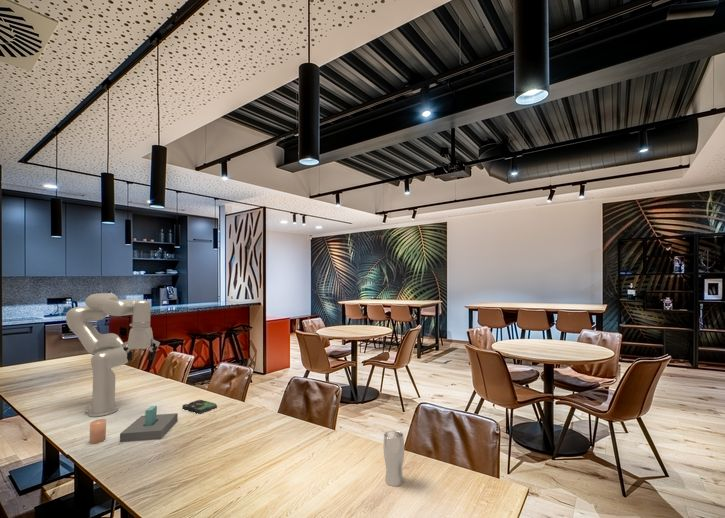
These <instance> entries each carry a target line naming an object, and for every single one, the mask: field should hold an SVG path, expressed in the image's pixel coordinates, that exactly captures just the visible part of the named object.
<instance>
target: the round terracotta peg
mask: <svg viewBox="0 0 725 518" xmlns="http://www.w3.org/2000/svg"><path fill="white" fill-rule="evenodd" d="M106 433H107V419H104V418H102V419H96V420H93V421H91V422H90V423H89V445H96V444H101V443H103V442H105V441H106V440H105V439H106V438H107V436H106V435H107V434H106ZM104 440H105V441H104ZM100 442H101V443H100Z"/></svg>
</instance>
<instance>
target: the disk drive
mask: <svg viewBox="0 0 725 518" xmlns="http://www.w3.org/2000/svg"><path fill="white" fill-rule="evenodd" d="M181 408H182V410H183V409H184V410H183V411H186V410H188V411H187V412H190V411H191V412H190V413H194V412H195V413H194V414H197V413H198V414H197V415H201V414H205V413H208V412H210V411H212V409H213V410H215V408H216V409H217V408H218V405H217V403H215V402H211V401H208V400H207V401H206V400H203V399H197V400H193V401H191V402H189V403H185V404H182V407H181ZM204 412H205V413H204Z"/></svg>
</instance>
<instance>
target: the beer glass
mask: <svg viewBox="0 0 725 518" xmlns="http://www.w3.org/2000/svg"><path fill="white" fill-rule="evenodd" d="M382 446H383V457H384V462H385V469H386V471H385V478H384V479H385V484H387V485H389V486H391V487H399V486H401V485H403V484H404V475H403V465H404V457H405V440H404V434H403V432H401V431H398V430H388V431H386V432H384V434H383V445H382Z"/></svg>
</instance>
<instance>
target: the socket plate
mask: <svg viewBox="0 0 725 518" xmlns="http://www.w3.org/2000/svg"><path fill="white" fill-rule="evenodd" d="M178 415H179V414H178V412H175V413H159V414H157V416H156V422H155V423H154V424H153V425H152V426H145V414H144V415H141V416H139V417H138V418H137V419H136V420H135V421H133V422H132V423H131V424H130V425H128V426H127V427H126V428H125V429H124V430H123V431H121V432H120V433H119V443H123V442H124V443H125V442H126V443H129V442H139V441H141V442H142V441H153V440H161V439H162V438H163V437H165V435H166V434H167V433H168V431H170V430H171V428H172V427H173V426H174V425H175V424H176V423H177V422H178V417H179V416H178Z"/></svg>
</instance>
